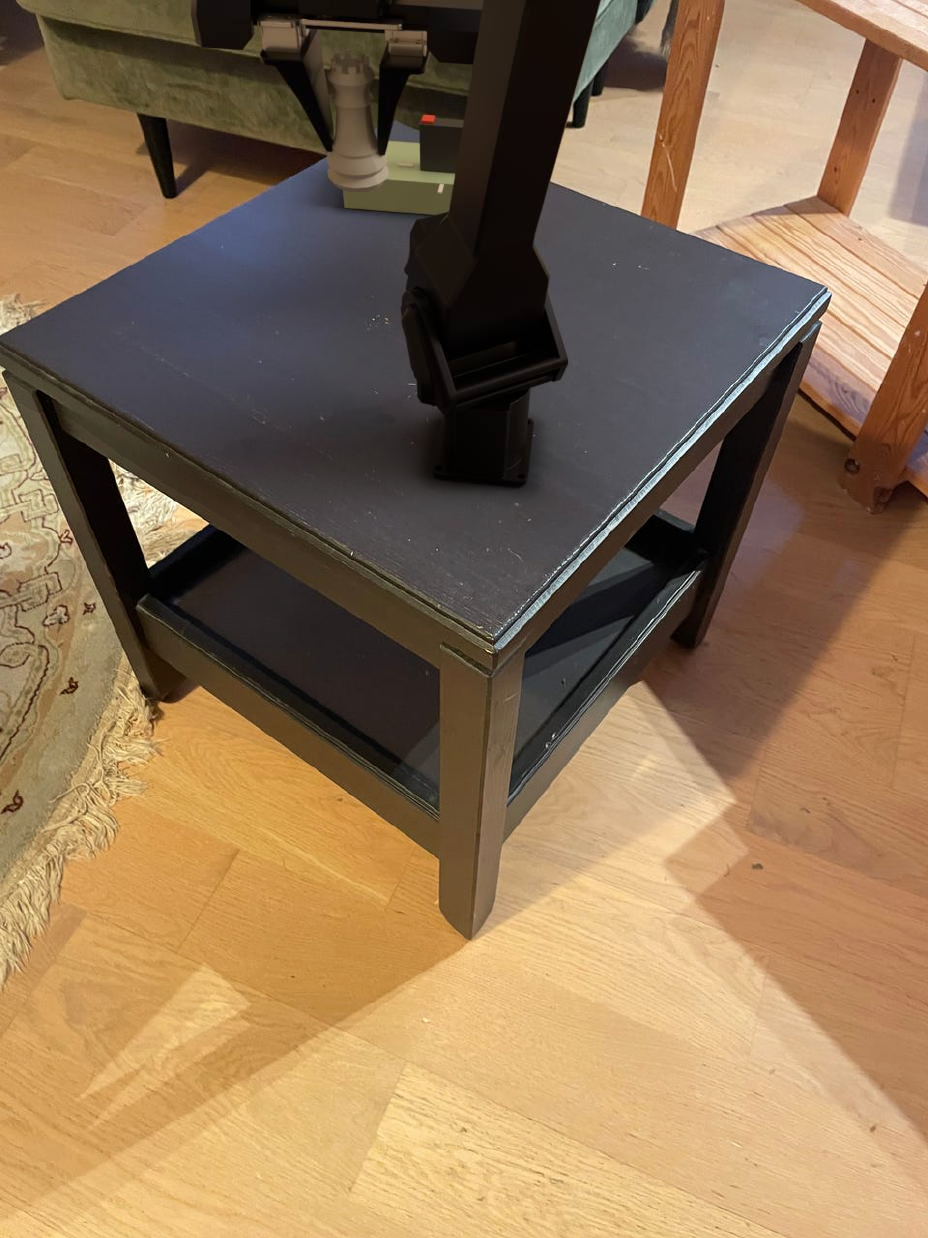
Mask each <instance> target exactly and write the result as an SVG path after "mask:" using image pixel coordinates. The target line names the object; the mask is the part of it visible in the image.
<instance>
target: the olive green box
mask: <svg viewBox="0 0 928 1238" xmlns="http://www.w3.org/2000/svg"><path fill="white" fill-rule="evenodd" d="M385 154H386V157H387V163H386V166H387V167H388V171H389V174H388V176H387V178H386V180H385V181H384V183H383V184H382V185H381V186H380V187H378V188H377V189H374V190H371V191H368V192H357V193H356V192H349V191H345V190H342V196H343V207H344V209H354V210H367V211H369V210H370V211H378V212H379V211H380V212H390V213H391V212H392V213H403V214H404V213H407V214H419V215H430V216H433V215H437V214H441V213H445V212H449V208H450V202H451V196H452V190H453V184H454V178H455V173H449V172H437V171H424V170H420V142H408V141H395V140H389V142H388V146H387V150H386V153H385Z"/></svg>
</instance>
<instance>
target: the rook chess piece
mask: <svg viewBox="0 0 928 1238" xmlns="http://www.w3.org/2000/svg"><path fill="white" fill-rule="evenodd" d="M343 55H344V58H343V59H342V57H341V56H342V54H340V53H339V52H337V53H335V54H333V55H332V58H330V65H331V66H330V68H329V69H328V71H327V73H325V76H326V78H327V79H326V80H328V82H329V83H330V84H331V85H332V87H333V88H334V95H333V96H332V97H331V100H332V103H333V104H334V105H335V114H336V115H335V132H334V141H333V143H332V148H333V149H332V152H327V156H326V157H327V158H326V161H327V166H328V169H327V171H326V172H327V173H326V174H327V178H328V179H329V180H330V181H331V182H332V184H333V185H334V186H335V187H336V188H338V189H340V190H342V191H343V190H345V191H349V192H356V193H357V192H368V191H371V190H374V189H377V188H378V187H380V186H381V185H382V184H383V183H384V181H385V180H386V178H387V176H388V174H389V171H388V167H387V166H386V163H387V157H386V154H385V155H384V156H382V155H379V149H378V141H377V133H376V132H375V125H374V120H373V114H372V103H373V102H374V99H375V98H374V95H373V94H372V93H371V91H370V88H371V85H372V83H373V81H374V80H375V78H376V76H377V75H376V72H375V69H374V68H373V67H372V66H371V65H370V57H369V56H366V54H365V53H364V52H361V51H358V52H357V53H356V58H353V51H352V50H344V52H343Z"/></svg>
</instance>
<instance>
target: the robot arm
mask: <svg viewBox="0 0 928 1238" xmlns="http://www.w3.org/2000/svg"><path fill="white" fill-rule="evenodd" d="M601 2H602V0H191V2H190V19H191V24H192V29H193V34H194V40H195V44H196V45H198V46H199V47H201V48H203V49H204V48H205V49H215V50H216V49H217V50H231V51H232V50H235V51H243V50H244V49H245V48H246V46H247V45H248V44H249V42H250V41H251V40H252V39H253V38H254V35H255V34H256V33H255V26H257V27H259V28H260V35H261V42H262V49H261V51H260V53H259V59H260V62H261V64H262V65H264V66H268V67H269V66H271V67H273V68H275V69H276V71H277V72H278V73H279V74H280V76H281V77H282V79H283V80H284V82H285V84H286V85H287V86H288V87H289V89H290V90H291V92H292V93H293V95H294V96H295V98H296V100H298V102H299V103H300V105H301V108H302V109H303V111H304V112H305V115H306V116H307V118H308V120H309V122H310V124H311V126H312V127H313V130H314V131H315V133H316V135H317V137H318V139H319V140H320V142H321V144H322V146H323V148H324V149H325V152H327V153H329V152H332V149H333V148H332V143H333V141H334V139H335V128H334V119H333V113H332V108H331V101H330V95H329V89H328V84H327V79H326V78H327V77H326V73H325V66H324V62H323V45H322V44H323V43H322V31H337V32H353V33H372V34H384V42H385V43H386V44H385V47H384V50H383V53H382V56H381V58H380V61H379V65H378V87H377V89H378V90H377V91H378V92H377V123H376V125H377V126H376V127H377V129H376V132H377V133H376V137H377V141H378V149H379V155H382V156H384V155H385V153H386V150H387V146H388V142H389V141H390V139H391V135H392V129H393V126H394V122H395V119H396V115H397V111H398V106H399V104H400V103H399V102H400V100H401V97H402V95H403V92H404V90H405V88H406V85H407V83H408V81H409V78H410V76H413V75H414V76H420V75H423V74H425V73H426V72H427V69H428V66H429V62H430V59H431V56H433V57H434V58H435V60H437V62H438V63H439V64H441V63H442V64H455V65H456V64H457V65H472V68H471V75H470V81H469V87H468V94H467V99H466V104H465V105H466V106H465V112H464V117H463V120H464V123H463V129H462V135H461V141H460V147H459V153H458V159H457V166H456V172H455V178H454V184H453V190H452V196H451V202H450V208H449V212H445V213H441V214H437V215H430V216H426V217H422V218H418V219H416V220H415V221H414V223H413V225H412V228H411V229H410V232H409V247H408V248H409V250H408V257H407V262H406V263H405V266H404V268H403V272H404V274H405V275H406V276H407V279H406V283H405V291H404V292H403V293H402V296H401V305H400V315H401V320H400V321H401V325H402V326H401V327H402V329H403V333H404V338H405V343H406V348H407V353H408V359H409V365H410V369H411V371H412V374H413V377H414V379H415V381H416V398H417V399H418V400H419V403H421V404H423V405H429V406H432V407H436V408H437V409H438V410H439V412H440V413H441V415H442V418H441V422H440V428H439V432H438V437H437V442H436V446H435V452H434V455H433V456H434V457H433V461H432V467H431V475H432V476H433V477H434V478H436V479H442V480H443V479H445V480H455V481H464V482H465V481H466V482H476V483H484V484H485V483H486V484H496V485H506V486H517V487H523V486H526V485H527V484H528V481H529V480H528V479H529V473H530V471H529V470H530V462H531V453H532V452H531V451H532V444H533V435H534V425H535V422H534V420H533V419H531V418H529V412H530V411H529V410H530V400H531V389H533V388H536V387H538V386H541V385H544V384H548V383H550V382H552V383H555V382H558V381H561V380H562V378H563V376H564V374H565V372H566V369H567V368H568V366H569V357H568V354H567V351H566V348H565V344H564V341H563V338H562V333H561V331H560V328H559V324H558V320H557V318H556V314H555V311H554V307H553V305H552V301H551V298H550V295H549V291H548V290H549V285H550V281H551V279H550V278H551V275H550V273H549V271H548V268H547V267H546V264H545V263H544V260H543V258H542V256H541V254H540V253H539V251H538V249H537V246H536V244H535V240H536V234H537V230H538V226H539V223H540V219H541V215H542V212H543V209H544V205H545V202H546V198H547V194H548V191H549V187H550V184H551V180H552V177H553V174H554V169H555V166H556V163H557V160H558V159H557V158H558V156H559V152H560V148H561V145H562V141H563V138H564V134H565V131H566V128H567V127H566V126H567V123H568V119H569V116H570V113H571V109H572V105H573V102H574V99H575V95H576V92H577V87H578V85H579V80H580V77H581V75H582V74H581V73H582V70H583V66H584V63H585V59H586V55H587V53H588V48H589V45H590V42H591V37H592V35H593V32H594V28H595V23H596V20H597V17H598V13H599V9H600V6H601Z"/></svg>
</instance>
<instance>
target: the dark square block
mask: <svg viewBox="0 0 928 1238" xmlns="http://www.w3.org/2000/svg"><path fill="white" fill-rule="evenodd" d="M463 123H464V119H455V118H454V119H453V118H441V117H436V115H434V114H432V115H431V114H423V115H422V116H421V118H420V120H419V124H418V132H419V133H418V135H419V136H418V137H419V140H418V141H419V143H420V170H424V171H437V172H449V173H455V172H456V166H457V159H458V153H459V147H460V141H461V135H462V129H463Z"/></svg>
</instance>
